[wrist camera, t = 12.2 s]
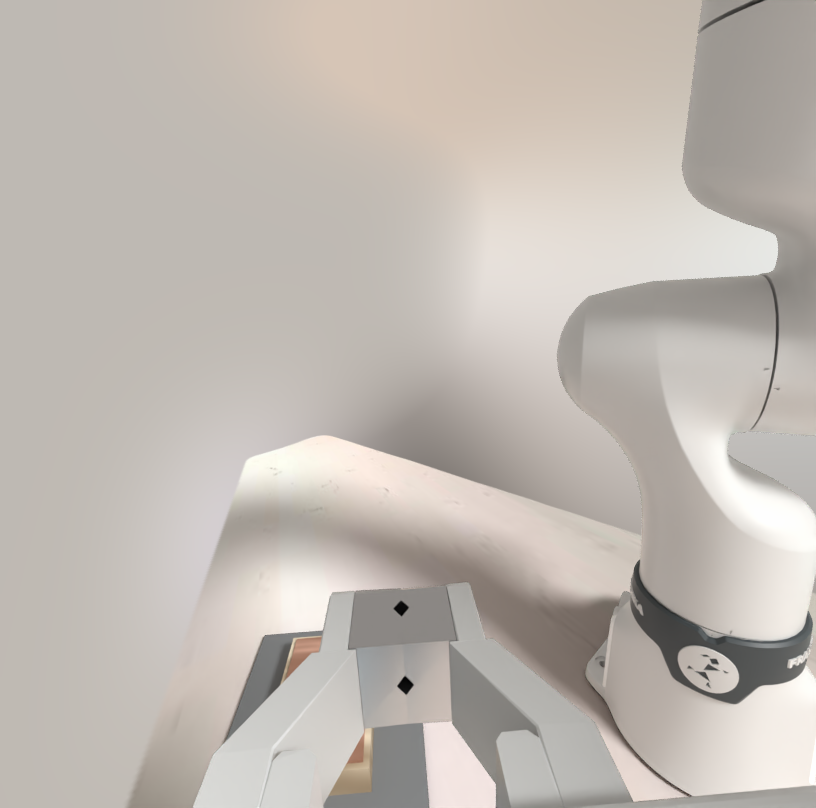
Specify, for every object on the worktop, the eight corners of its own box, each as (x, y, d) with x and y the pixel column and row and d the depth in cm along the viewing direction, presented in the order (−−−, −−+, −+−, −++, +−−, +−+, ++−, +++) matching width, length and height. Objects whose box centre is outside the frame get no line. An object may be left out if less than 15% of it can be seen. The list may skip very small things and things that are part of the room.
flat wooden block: (368, 765, 33) (374, 629, 47) (253, 775, 33) (293, 635, 46) (371, 792, 34) (376, 650, 47) (258, 802, 33) (296, 656, 47)
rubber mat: (433, 863, 30) (433, 859, 29) (174, 887, 29) (173, 883, 29) (415, 626, 51) (414, 623, 51) (265, 637, 50) (264, 635, 50)
